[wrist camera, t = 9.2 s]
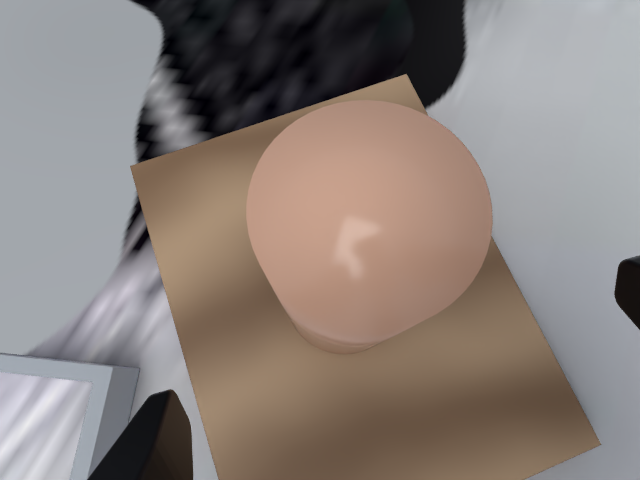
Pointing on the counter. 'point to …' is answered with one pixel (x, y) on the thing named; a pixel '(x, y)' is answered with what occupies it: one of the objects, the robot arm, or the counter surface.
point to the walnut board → (345, 369)
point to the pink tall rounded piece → (367, 222)
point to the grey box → (103, 406)
